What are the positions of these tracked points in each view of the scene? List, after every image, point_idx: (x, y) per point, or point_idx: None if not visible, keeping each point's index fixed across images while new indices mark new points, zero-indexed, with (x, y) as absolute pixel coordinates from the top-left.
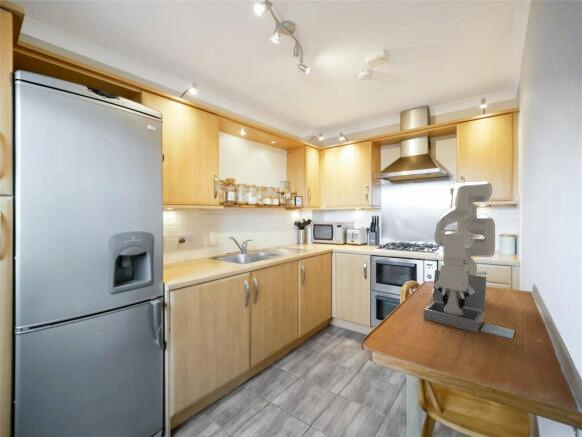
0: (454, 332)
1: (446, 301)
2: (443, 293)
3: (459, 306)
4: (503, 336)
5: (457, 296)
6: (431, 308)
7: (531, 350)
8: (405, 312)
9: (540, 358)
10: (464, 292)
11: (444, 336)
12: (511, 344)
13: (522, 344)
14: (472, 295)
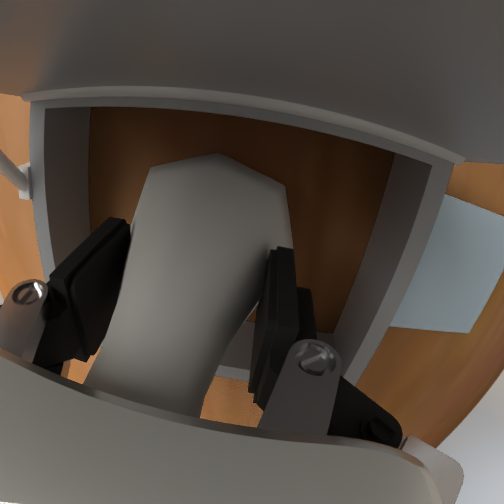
0: (246, 384)
1: (117, 284)
2: (55, 368)
3: (255, 326)
4: (445, 329)
5: (214, 373)
6: (62, 226)
7: (470, 376)
8: (7, 251)
9: (459, 404)
10: (319, 433)
11: (217, 419)
12: (437, 373)
13: (473, 351)
14: (473, 104)
